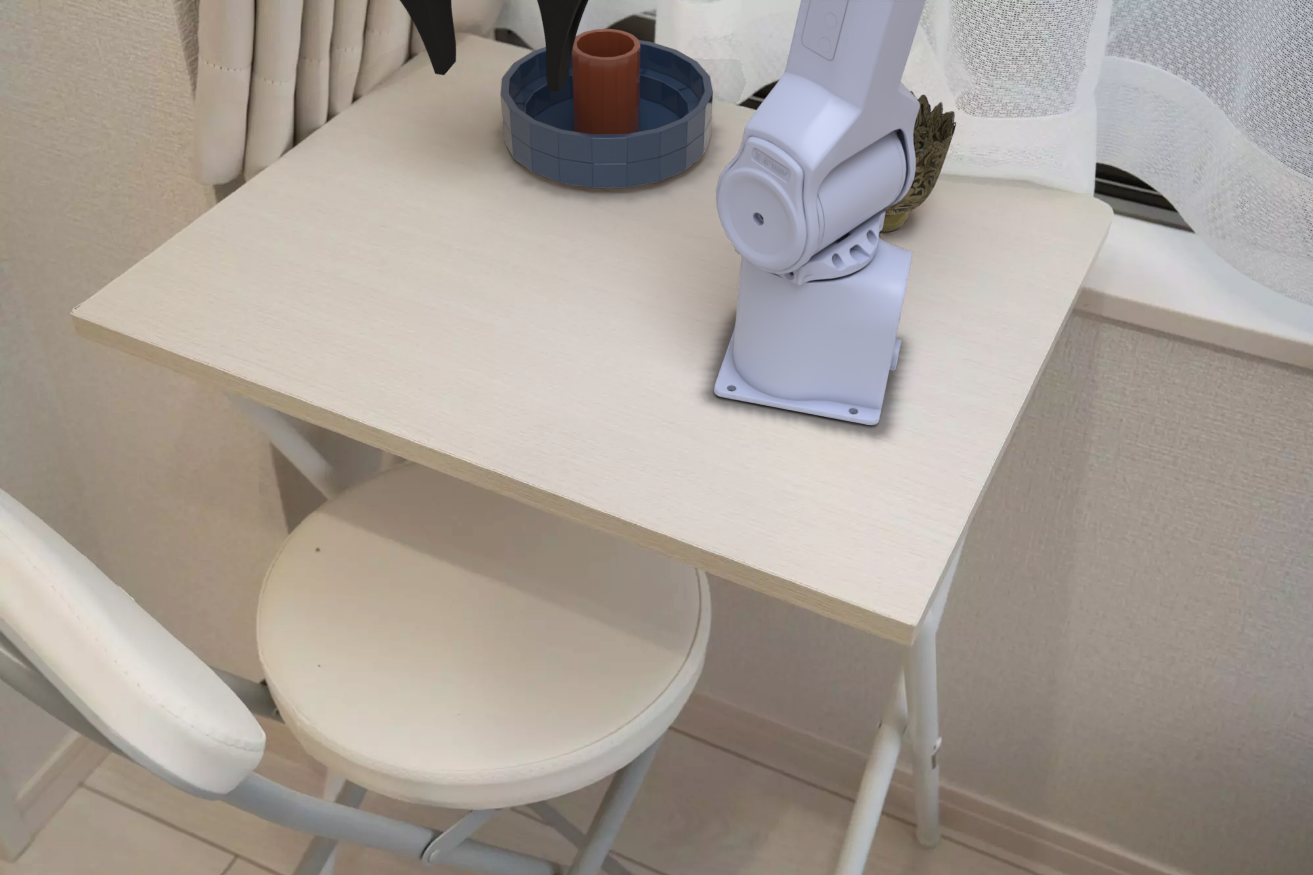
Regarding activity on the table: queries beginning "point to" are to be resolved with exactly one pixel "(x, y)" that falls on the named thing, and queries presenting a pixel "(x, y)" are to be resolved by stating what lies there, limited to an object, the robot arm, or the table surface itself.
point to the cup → (606, 82)
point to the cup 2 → (924, 159)
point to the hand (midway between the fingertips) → (501, 76)
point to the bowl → (655, 153)
